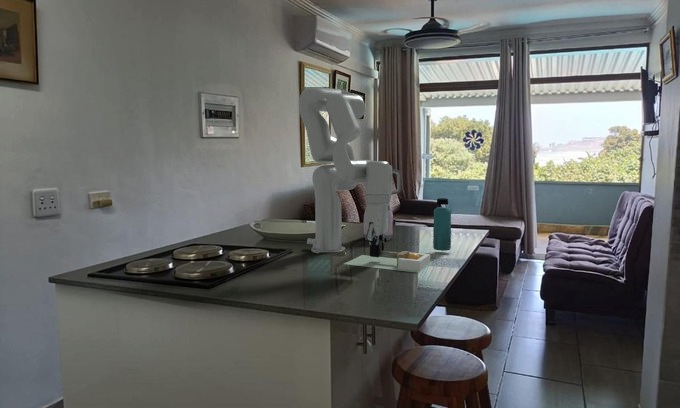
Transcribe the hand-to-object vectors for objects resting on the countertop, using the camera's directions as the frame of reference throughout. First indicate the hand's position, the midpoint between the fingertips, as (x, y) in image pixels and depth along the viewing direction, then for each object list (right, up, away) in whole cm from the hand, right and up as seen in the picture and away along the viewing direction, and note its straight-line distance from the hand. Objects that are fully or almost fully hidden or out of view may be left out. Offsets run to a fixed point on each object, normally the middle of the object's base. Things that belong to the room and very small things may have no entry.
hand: (376, 255), depth 164 cm
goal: (+11, -3, -5) cm, 13 cm away
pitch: (+4, -3, -1) cm, 5 cm away
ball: (+11, -1, -5) cm, 12 cm away
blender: (+6, +2, +47) cm, 48 cm away
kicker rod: (+4, -2, -2) cm, 5 cm away
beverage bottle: (+25, -1, +19) cm, 31 cm away
